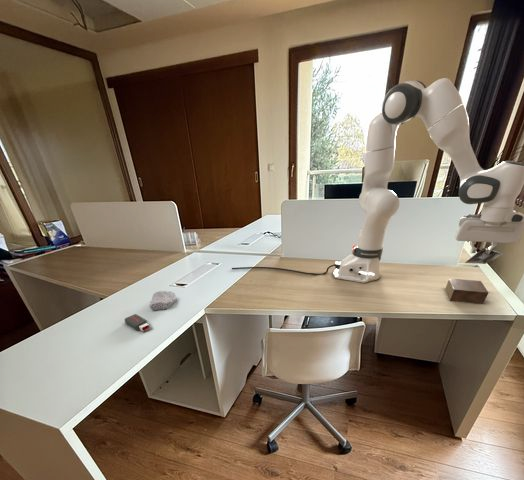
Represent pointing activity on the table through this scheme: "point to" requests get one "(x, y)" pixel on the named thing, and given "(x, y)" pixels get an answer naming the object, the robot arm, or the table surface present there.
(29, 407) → the table surface
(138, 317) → the usb drive
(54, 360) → the table surface
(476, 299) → the walnut block
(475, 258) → the paper boat
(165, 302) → the stone block
